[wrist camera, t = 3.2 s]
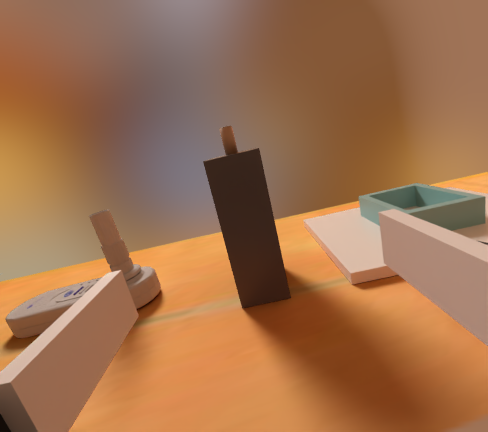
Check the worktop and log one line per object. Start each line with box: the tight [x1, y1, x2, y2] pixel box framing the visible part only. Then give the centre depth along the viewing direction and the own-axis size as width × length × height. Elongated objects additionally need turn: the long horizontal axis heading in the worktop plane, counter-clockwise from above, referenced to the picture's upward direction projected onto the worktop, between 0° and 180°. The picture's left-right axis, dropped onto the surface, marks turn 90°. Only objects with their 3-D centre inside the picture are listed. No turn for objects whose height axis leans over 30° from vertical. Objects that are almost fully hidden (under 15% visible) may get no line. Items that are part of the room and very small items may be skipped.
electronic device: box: [6, 210, 161, 338], centre depth 26 cm, size 5×10×15 cm
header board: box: [303, 183, 488, 284], centre depth 28 cm, size 20×16×4 cm
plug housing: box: [204, 126, 291, 308], centre depth 22 cm, size 4×6×14 cm, turn 1°
